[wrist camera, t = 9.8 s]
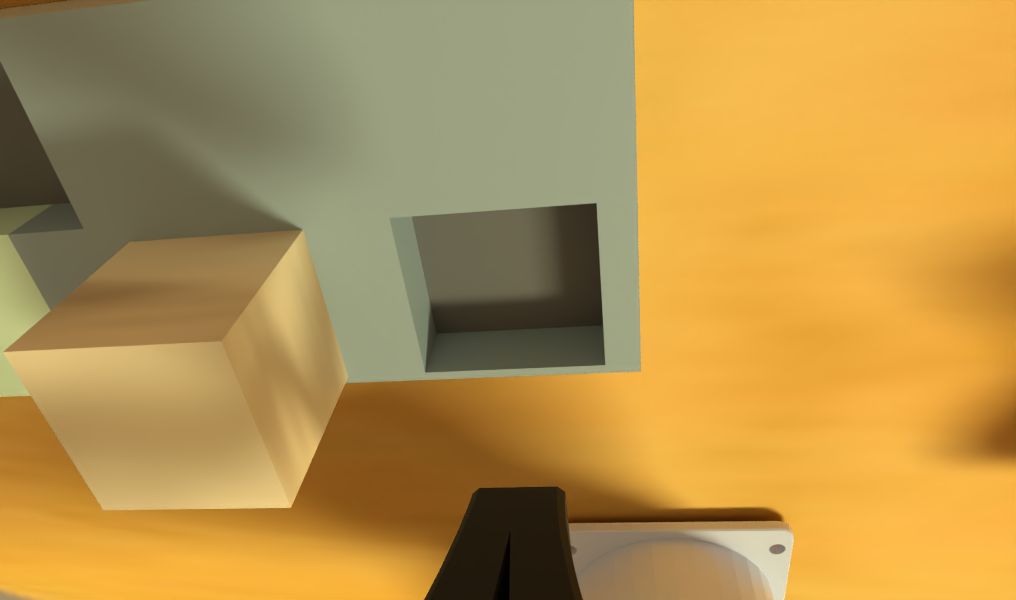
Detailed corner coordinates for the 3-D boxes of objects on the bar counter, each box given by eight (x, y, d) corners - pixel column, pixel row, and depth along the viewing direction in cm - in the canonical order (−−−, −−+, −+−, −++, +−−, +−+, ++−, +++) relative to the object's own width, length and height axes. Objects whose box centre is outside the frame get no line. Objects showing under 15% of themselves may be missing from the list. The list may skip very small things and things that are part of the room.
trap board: (635, 327, 20) (649, 439, 16) (-22, 358, 22) (-143, 460, 19) (626, -70, 14) (643, -42, 10) (-234, 38, 17) (-464, 90, 13)
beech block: (348, 376, 19) (291, 507, 15) (194, 383, 19) (103, 510, 16) (302, 229, 16) (221, 341, 13) (129, 241, 17) (2, 351, 13)
